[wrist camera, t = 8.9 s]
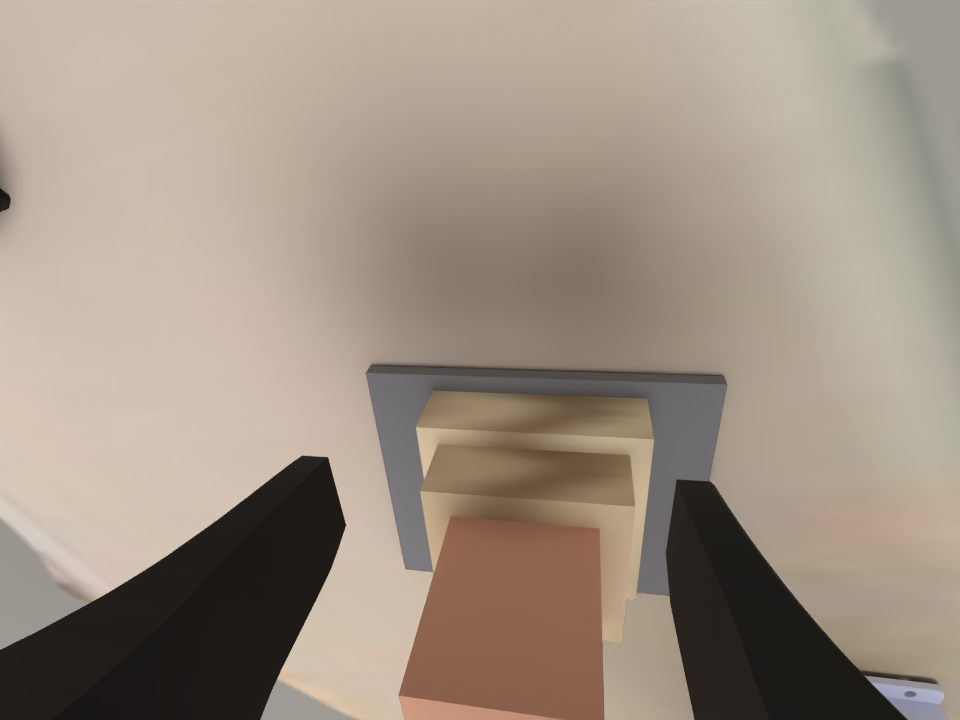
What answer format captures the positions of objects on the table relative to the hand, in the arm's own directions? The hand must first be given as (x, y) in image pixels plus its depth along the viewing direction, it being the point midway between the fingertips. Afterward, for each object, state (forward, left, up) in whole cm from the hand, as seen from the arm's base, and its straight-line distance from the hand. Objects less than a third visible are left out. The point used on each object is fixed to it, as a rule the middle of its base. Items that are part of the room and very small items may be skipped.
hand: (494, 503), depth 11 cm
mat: (0, +9, -10) cm, 14 cm away
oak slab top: (0, +8, -7) cm, 11 cm away
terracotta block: (0, +8, -5) cm, 9 cm away
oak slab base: (0, +8, -10) cm, 13 cm away
